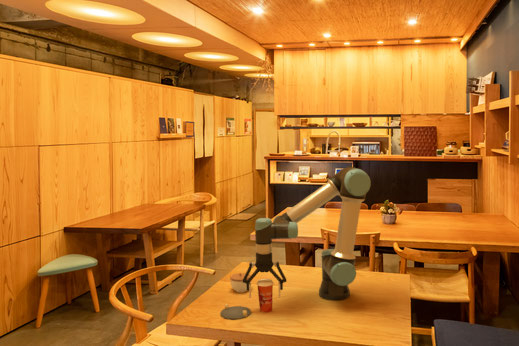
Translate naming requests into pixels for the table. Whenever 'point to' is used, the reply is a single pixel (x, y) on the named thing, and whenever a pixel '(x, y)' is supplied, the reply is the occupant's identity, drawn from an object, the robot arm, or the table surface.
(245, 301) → the table surface
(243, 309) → the pad
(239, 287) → the lidded jar
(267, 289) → the paper cup
